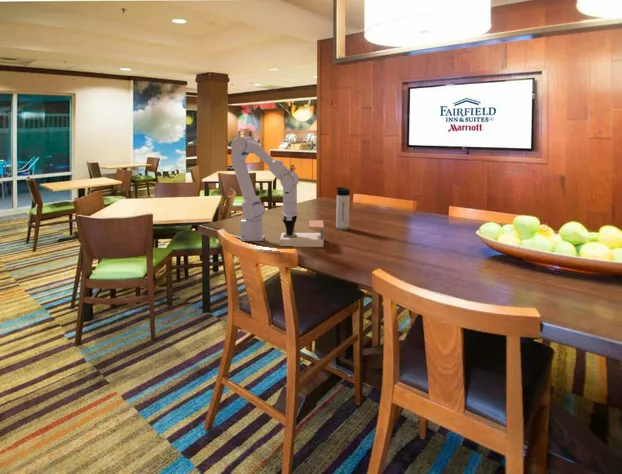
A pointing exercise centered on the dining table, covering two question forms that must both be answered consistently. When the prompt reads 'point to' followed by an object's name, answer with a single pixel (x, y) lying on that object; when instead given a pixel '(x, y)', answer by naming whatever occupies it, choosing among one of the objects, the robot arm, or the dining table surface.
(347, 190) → the travel mug
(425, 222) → the dining table surface
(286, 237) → the peg
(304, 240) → the socket block
